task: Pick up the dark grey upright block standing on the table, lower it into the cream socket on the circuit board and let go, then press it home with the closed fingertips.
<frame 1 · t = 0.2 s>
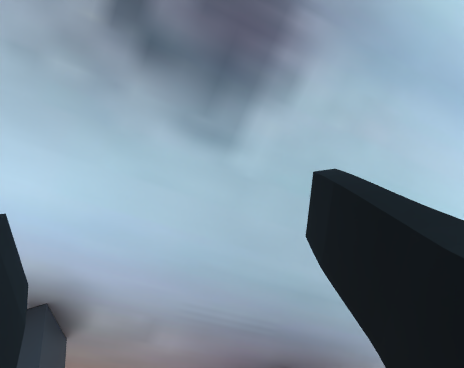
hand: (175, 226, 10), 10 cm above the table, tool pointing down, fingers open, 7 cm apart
dark grey upright block: (14, 335, 23), on the table
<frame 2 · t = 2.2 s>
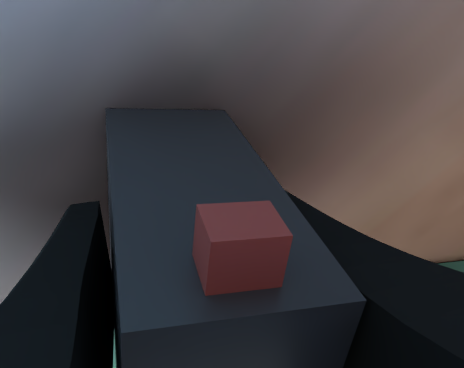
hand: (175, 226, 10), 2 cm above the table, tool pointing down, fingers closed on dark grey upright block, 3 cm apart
dark grey upright block: (164, 186, 12), on the table, touching gripper
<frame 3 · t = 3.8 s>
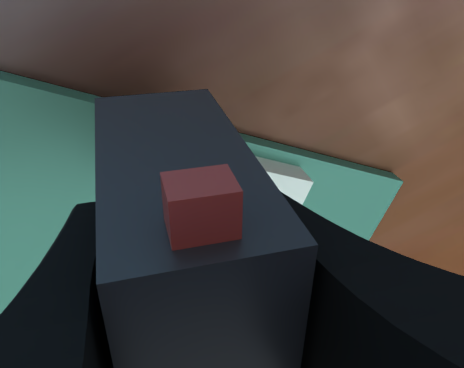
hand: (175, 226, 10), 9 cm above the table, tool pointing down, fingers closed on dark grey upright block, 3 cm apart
dark grey upright block: (159, 167, 13), point 6 cm above the table, touching gripper
circuit board: (176, 266, 22), on the table
when the fingers open (4 cm above the table, at t = 5.4 s): dark grey upright block stays where it is, resting on circuit board.
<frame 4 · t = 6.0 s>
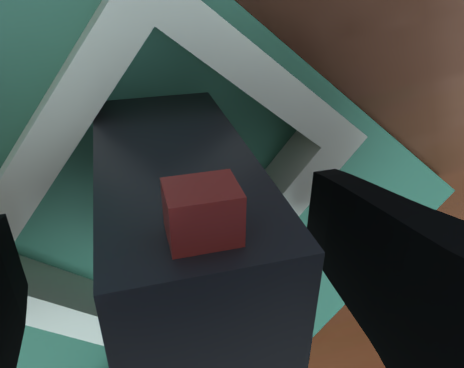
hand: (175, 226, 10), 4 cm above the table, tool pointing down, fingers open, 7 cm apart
dark grey upright block: (159, 171, 12), point 1 cm above the table, touching circuit board
circuit board: (105, 230, 14), on the table
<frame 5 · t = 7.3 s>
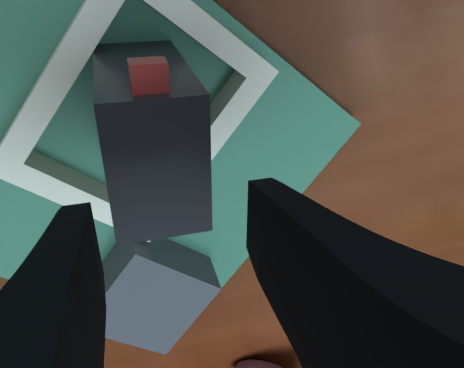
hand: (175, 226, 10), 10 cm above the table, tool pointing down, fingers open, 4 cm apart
dark grey upright block: (138, 97, 18), point 1 cm above the table, touching circuit board
circuit board: (102, 145, 20), on the table
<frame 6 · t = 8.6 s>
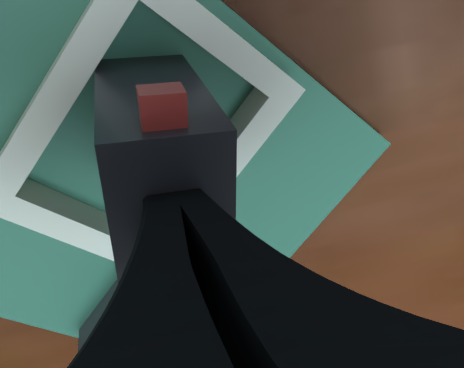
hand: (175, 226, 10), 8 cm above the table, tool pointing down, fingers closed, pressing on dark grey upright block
dark grey upright block: (145, 118, 16), point 1 cm above the table, touching circuit board, gripper
circuit board: (104, 169, 18), on the table
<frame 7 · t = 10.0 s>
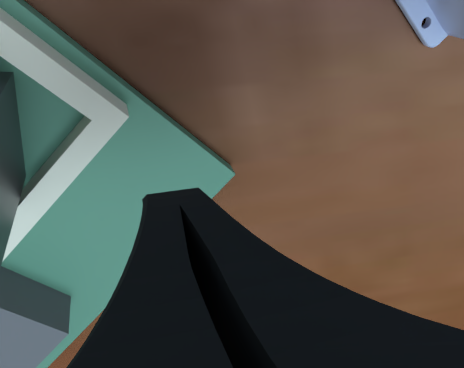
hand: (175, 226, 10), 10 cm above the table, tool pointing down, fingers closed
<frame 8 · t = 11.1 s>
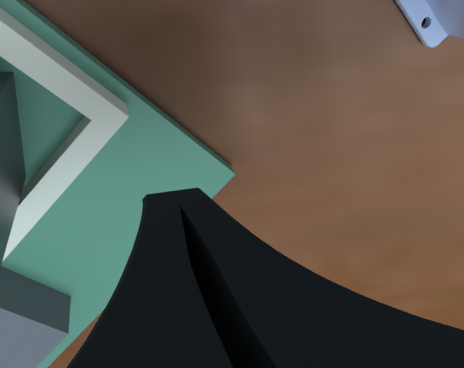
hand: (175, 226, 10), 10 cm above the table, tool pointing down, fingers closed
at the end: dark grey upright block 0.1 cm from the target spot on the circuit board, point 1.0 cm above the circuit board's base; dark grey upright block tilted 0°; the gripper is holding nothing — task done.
